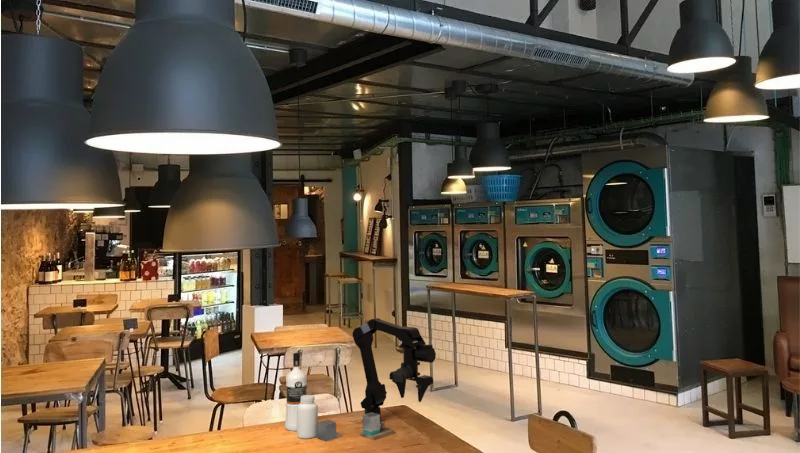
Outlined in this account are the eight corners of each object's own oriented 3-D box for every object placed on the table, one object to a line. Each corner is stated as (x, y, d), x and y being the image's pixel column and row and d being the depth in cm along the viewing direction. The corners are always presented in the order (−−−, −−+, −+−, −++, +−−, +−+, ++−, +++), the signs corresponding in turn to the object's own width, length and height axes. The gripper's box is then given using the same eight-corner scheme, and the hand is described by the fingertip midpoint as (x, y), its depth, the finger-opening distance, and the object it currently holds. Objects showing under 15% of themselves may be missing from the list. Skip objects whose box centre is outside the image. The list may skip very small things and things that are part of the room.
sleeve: (362, 433, 216) (362, 414, 216) (371, 430, 219) (371, 412, 220) (371, 435, 213) (371, 417, 213) (379, 432, 216) (379, 414, 216)
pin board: (359, 435, 217) (359, 424, 217) (380, 428, 225) (379, 418, 225) (374, 440, 211) (374, 428, 212) (394, 433, 219) (394, 422, 220)
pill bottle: (321, 434, 219) (321, 395, 220) (310, 440, 212) (310, 400, 213) (304, 431, 223) (304, 393, 223) (292, 437, 215) (292, 397, 216)
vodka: (307, 423, 233) (307, 350, 234) (309, 430, 224) (308, 354, 225) (284, 425, 230) (284, 351, 232) (285, 432, 221) (285, 355, 223)
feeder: (317, 438, 214) (317, 422, 214) (333, 433, 220) (333, 417, 220) (325, 441, 210) (325, 425, 211) (342, 436, 216) (342, 420, 217)
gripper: (379, 360, 224) (379, 399, 223) (414, 366, 211) (415, 408, 210) (398, 356, 232) (399, 394, 231) (433, 361, 219) (434, 402, 219)
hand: (411, 399), depth 223 cm, fingers open, 9 cm apart
